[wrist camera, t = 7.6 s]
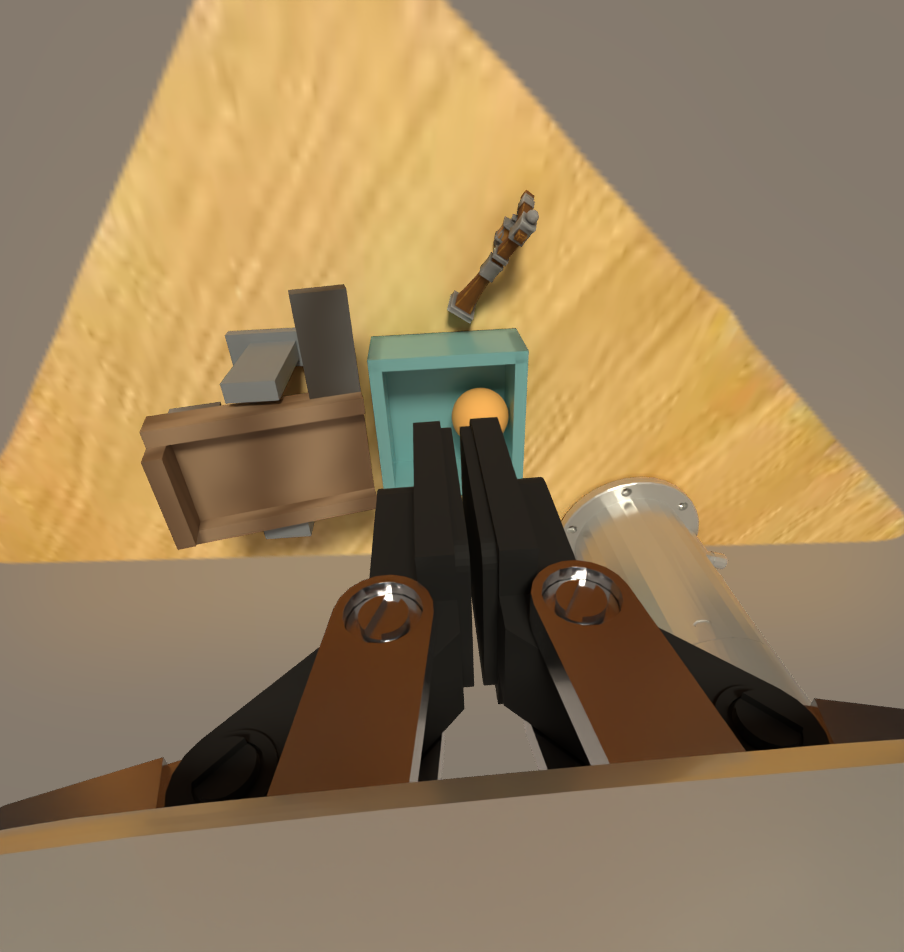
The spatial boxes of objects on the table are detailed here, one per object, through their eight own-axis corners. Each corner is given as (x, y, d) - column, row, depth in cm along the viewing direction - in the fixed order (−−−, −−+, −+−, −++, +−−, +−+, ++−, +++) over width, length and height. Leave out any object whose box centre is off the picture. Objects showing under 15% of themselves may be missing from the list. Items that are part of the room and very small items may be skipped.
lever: (337, 273, 31) (352, 300, 26) (366, 469, 39) (382, 521, 34) (117, 294, 29) (84, 330, 24) (194, 501, 36) (183, 562, 31)
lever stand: (318, 326, 35) (299, 368, 29) (345, 479, 42) (334, 541, 36) (228, 331, 35) (189, 375, 29) (270, 484, 42) (245, 547, 36)
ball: (433, 403, 36) (466, 383, 39) (450, 455, 38) (481, 432, 40) (478, 397, 34) (510, 376, 36) (495, 453, 35) (525, 429, 38)
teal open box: (516, 328, 36) (528, 350, 33) (511, 458, 42) (522, 490, 38) (371, 336, 36) (367, 360, 32) (387, 467, 42) (385, 500, 38)
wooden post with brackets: (551, 189, 31) (548, 229, 28) (478, 285, 37) (470, 325, 34) (527, 170, 31) (521, 209, 28) (456, 271, 36) (446, 311, 34)
